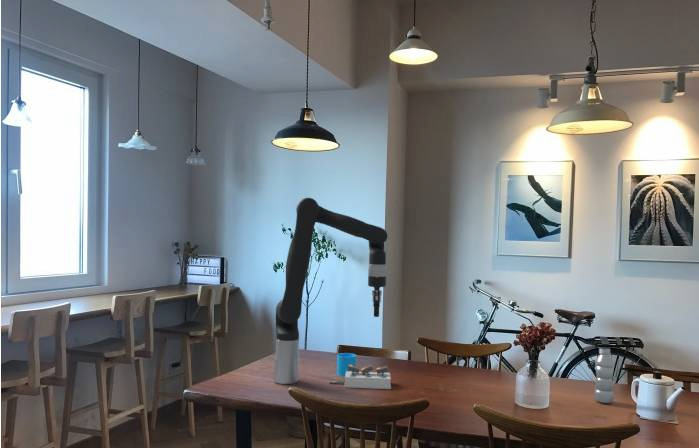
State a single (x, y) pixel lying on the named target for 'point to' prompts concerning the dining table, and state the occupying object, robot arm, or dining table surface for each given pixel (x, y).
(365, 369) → the rocker
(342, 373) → the mug
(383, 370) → the rocker
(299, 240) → the robot arm
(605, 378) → the plastic bottle
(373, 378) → the power strip
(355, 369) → the rocker
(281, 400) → the dining table surface
